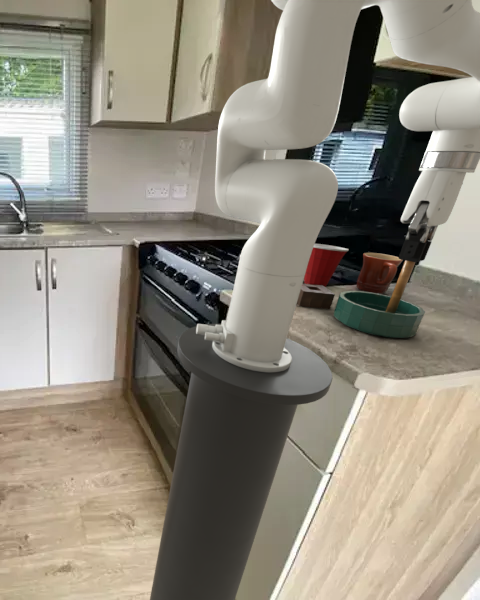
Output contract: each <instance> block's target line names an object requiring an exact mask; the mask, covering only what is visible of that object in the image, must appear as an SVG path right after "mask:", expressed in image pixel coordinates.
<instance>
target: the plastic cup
mask: <svg viewBox="0 0 480 600" xmlns="http://www.w3.org/2000/svg"><path fill="white" fill-rule="evenodd" d="M347 252H349V248H345V247H341V246H336V245H329V244H323V243H322V244H321V243H315V244H314V247H313V249H312V253H311V256H310V259H309V262H308V266H307V269H306V273H305V276H304V280H303V284H312V285H322V286H324V287H326V288H327V285H328V284H329V282H330V281H331V278H332V277H333V276H334V274H335V272H336V270H337V268H338V266H339V265H340V263H341V260H342V259H343V258H344V256H345V255H346V254H347Z"/></svg>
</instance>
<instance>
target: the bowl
mask: <svg viewBox="0 0 480 600" xmlns="http://www.w3.org/2000/svg"><path fill="white" fill-rule="evenodd" d="M391 296H392V295H386V294H377V293H371V292H364V291H361V290H347V291H342V292H340V293H339V295H338V299H337V301H336V303H335V307H334V310H333V317H334V318H335V319H337V320H338V321H339V322H341V323H342V324H343V325H345V326H347V327H349V328H351V329H354V330H356V331H360V332H362V333H366V334H370V335H373V336H378V337H382V338H383V337H384V338H390V339H391V338H393V339H402V338H411V337H415V336H416V334H417V333H418V331H419V328H420V326H421V323H422V321H423V319H424V317H425V314H426V311H425V310H424V309H423V307H421V306H419V305H417V304H415V303H413V302H410V301H407V300H405V299H402V298H401V300H400V302H399V305H398V307H397V310H396V312H395V313H390V312H386V309H387V306H388V304H389V301H390V299H391Z"/></svg>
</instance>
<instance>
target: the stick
mask: <svg viewBox="0 0 480 600" xmlns="http://www.w3.org/2000/svg"><path fill="white" fill-rule="evenodd" d="M428 235H429V233H428ZM428 235H427V237H428ZM427 237H426V240H427ZM426 240H425V242H426ZM415 264H416V262H411V261H406V260H404V262H403V265H402V268H401V270H400V273H399V275H398V278H397V281H396V283H395V285H394V288H393V291H392V294H391V295H390V296H391V299H390V301H389V304H388V306H387V309H386V312H390V313H395V312H396V310H397V307H398V305H399V302H400V300H401V299H402V297H403V295H404V293H405V290H406V288H407V285H408V282H409V280H410V277H411V275H412V273H413V270H414V267H415Z"/></svg>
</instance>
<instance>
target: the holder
mask: <svg viewBox="0 0 480 600" xmlns="http://www.w3.org/2000/svg"><path fill="white" fill-rule="evenodd" d="M335 297H336V294H335V293H334V292H332V291H331V290H330V289H329V288H327V286H326V287H324V286H322V285H312V284H306V283H302V287H301V290H300V294H299V297H298V301H297V304H296V305H297V306H299V307H302V308H303V307H304V308H313V309H322V310H331V308H332V305H333V301H334V299H335Z"/></svg>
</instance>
